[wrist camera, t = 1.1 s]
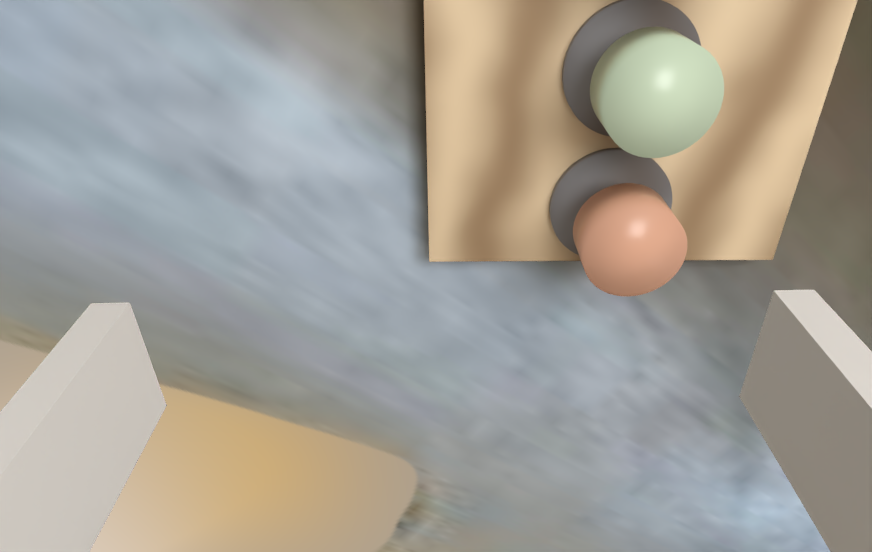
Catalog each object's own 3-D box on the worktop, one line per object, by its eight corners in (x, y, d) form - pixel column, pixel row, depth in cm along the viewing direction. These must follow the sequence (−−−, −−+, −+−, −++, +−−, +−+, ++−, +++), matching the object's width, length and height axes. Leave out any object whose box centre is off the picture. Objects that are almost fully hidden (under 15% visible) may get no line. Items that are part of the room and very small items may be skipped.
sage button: (583, 137, 32) (595, 158, 29) (597, 27, 29) (611, 40, 26) (687, 136, 32) (709, 157, 29) (711, 25, 29) (737, 39, 26)
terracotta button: (568, 267, 36) (577, 296, 34) (578, 183, 33) (589, 207, 31) (659, 267, 36) (676, 296, 34) (678, 182, 33) (697, 206, 31)
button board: (429, 246, 41) (429, 266, 39) (420, -204, 28) (418, -212, 26) (758, 244, 41) (777, 264, 39) (899, -213, 28) (938, -221, 26)
